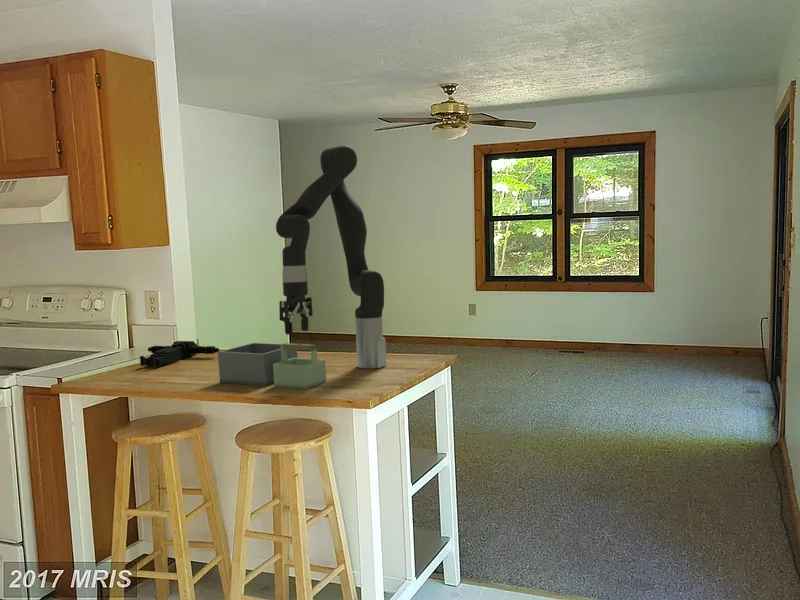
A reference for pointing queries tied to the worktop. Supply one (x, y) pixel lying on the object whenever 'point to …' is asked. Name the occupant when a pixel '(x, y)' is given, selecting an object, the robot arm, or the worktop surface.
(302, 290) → the robot arm
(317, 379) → the green basket
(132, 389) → the worktop surface
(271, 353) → the charcoal crate
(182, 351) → the toy
